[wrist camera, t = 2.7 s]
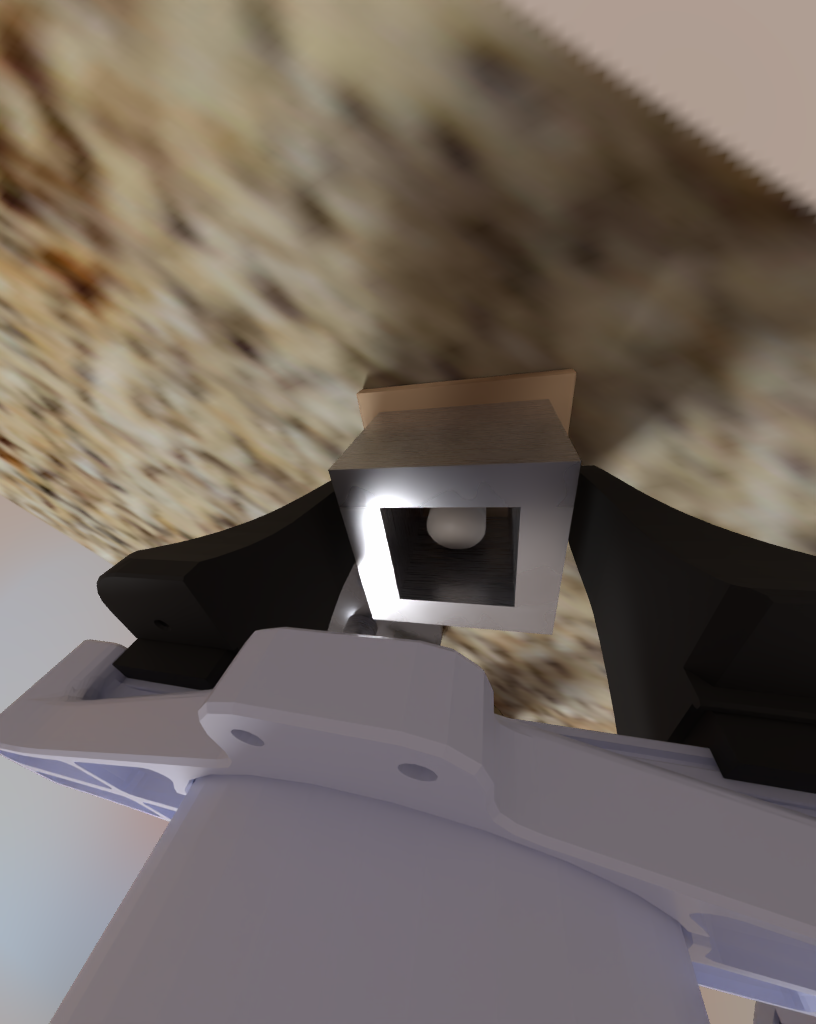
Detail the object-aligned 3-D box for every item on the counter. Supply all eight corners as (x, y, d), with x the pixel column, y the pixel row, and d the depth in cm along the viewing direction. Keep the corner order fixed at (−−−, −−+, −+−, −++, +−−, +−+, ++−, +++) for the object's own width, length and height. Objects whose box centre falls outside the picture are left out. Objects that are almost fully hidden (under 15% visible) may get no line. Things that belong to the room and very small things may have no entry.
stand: (572, 368, 10) (605, 401, 7) (549, 543, 14) (565, 611, 11) (362, 389, 12) (320, 422, 9) (393, 540, 16) (371, 597, 13)
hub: (436, 556, 16) (422, 626, 12) (448, 663, 20) (441, 733, 17) (274, 551, 18) (227, 609, 15) (320, 648, 23) (292, 708, 19)
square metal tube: (548, 398, 10) (581, 461, 6) (535, 539, 13) (552, 634, 10) (379, 412, 11) (328, 469, 8) (402, 536, 15) (373, 619, 11)
